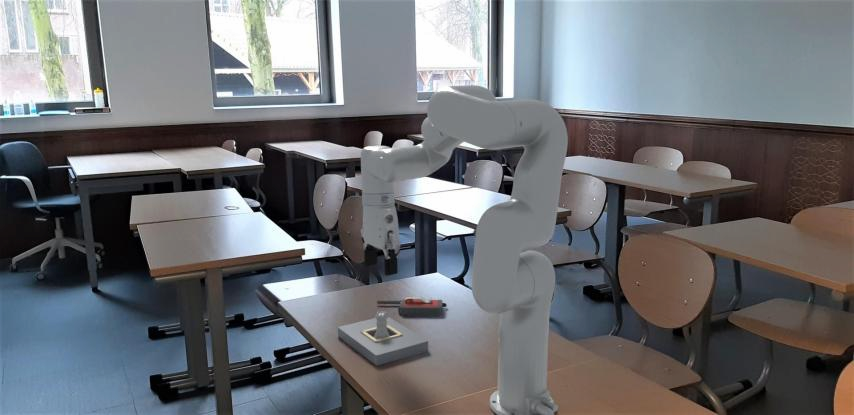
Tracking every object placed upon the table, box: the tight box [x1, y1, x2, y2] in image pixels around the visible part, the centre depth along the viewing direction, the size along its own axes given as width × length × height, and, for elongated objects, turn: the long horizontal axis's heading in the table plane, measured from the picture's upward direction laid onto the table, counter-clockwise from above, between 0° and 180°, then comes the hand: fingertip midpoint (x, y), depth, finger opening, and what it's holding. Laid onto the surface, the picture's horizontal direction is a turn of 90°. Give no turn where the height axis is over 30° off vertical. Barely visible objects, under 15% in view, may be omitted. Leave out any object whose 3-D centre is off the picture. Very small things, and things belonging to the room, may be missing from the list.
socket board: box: [337, 316, 429, 366], centre depth 156 cm, size 20×14×3 cm
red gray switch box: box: [376, 295, 447, 317], centre depth 178 cm, size 9×4×20 cm
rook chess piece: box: [374, 310, 390, 340], centre depth 155 cm, size 4×4×8 cm
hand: (380, 269), depth 152 cm, fingers open, 9 cm apart
